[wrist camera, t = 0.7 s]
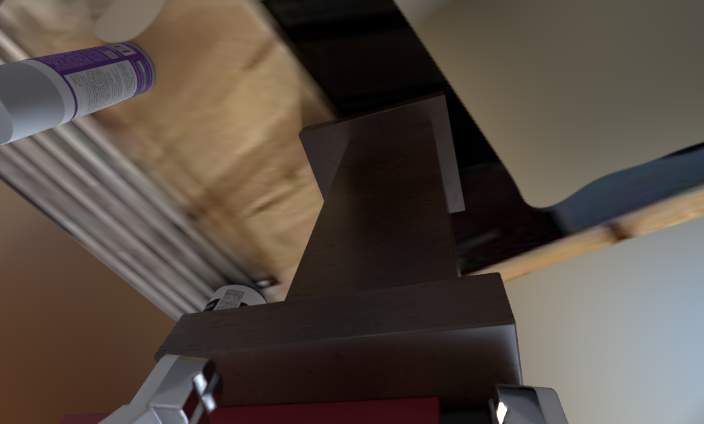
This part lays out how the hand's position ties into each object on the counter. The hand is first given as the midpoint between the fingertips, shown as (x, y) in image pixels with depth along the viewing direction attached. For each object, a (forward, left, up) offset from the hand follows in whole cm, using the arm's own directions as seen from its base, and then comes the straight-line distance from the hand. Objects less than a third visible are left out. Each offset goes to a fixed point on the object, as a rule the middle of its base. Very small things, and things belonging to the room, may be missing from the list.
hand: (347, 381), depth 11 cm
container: (+11, -23, -28) cm, 38 cm away
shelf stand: (+5, +3, -28) cm, 29 cm away
